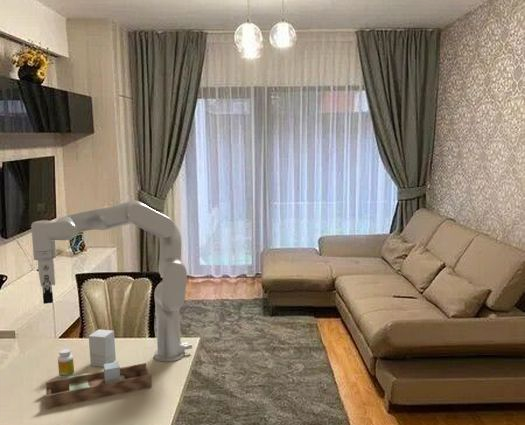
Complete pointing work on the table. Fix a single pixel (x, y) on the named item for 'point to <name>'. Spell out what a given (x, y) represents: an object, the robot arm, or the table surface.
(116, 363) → the block
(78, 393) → the box
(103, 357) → the supplement box
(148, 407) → the table surface
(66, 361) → the supplement bottle
